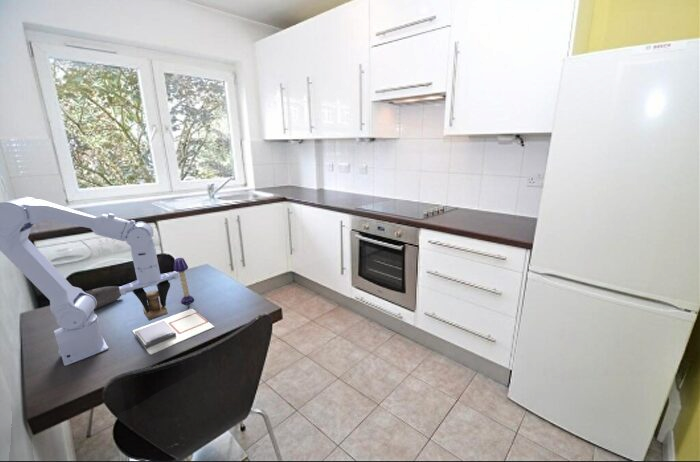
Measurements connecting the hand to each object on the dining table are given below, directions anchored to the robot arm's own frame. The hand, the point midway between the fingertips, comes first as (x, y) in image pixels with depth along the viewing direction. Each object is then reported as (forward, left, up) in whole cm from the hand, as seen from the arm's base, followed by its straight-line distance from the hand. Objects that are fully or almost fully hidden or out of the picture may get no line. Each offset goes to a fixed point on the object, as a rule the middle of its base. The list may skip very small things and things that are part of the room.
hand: (155, 308), depth 93 cm
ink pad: (-1, 0, -9) cm, 9 cm away
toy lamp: (+14, +16, -9) cm, 23 cm away
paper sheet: (+4, 0, -9) cm, 10 cm away
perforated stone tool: (-8, +36, -9) cm, 38 cm away
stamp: (0, +1, -2) cm, 3 cm away
